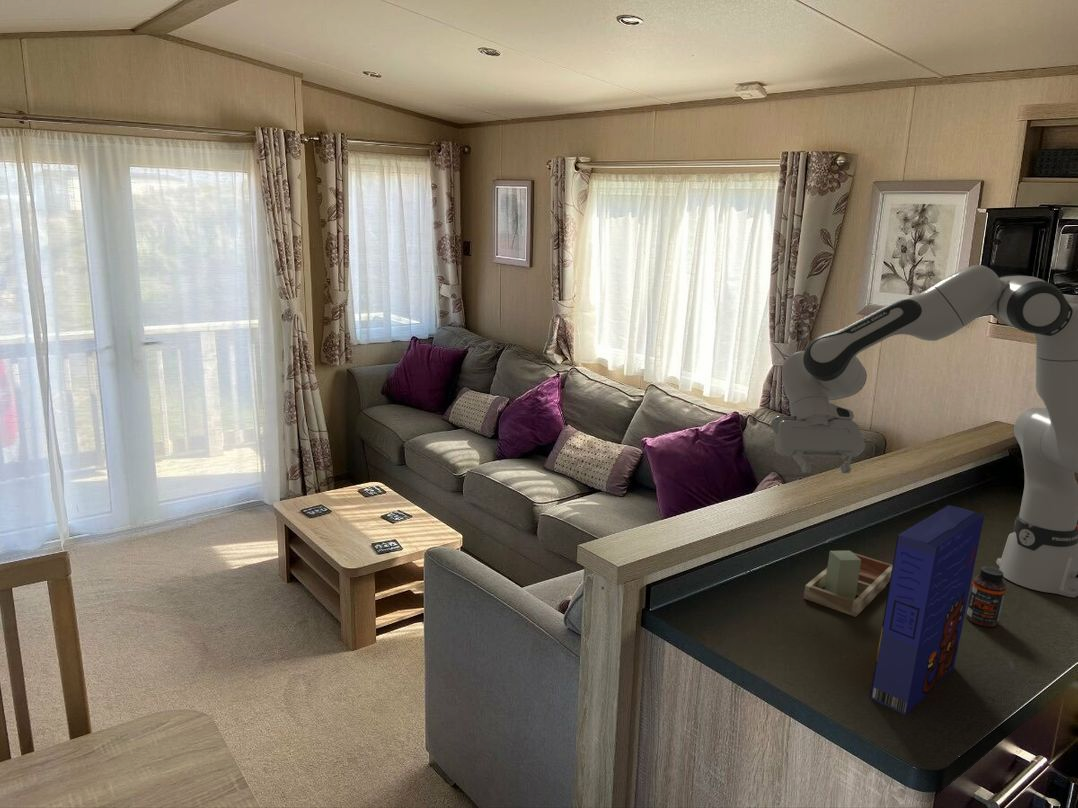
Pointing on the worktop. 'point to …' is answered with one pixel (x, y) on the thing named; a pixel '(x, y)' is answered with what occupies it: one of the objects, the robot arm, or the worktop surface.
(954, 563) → the cereal box
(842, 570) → the sage peg
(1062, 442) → the robot arm
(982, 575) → the supplement bottle
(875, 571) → the two-socket holder
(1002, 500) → the worktop surface
